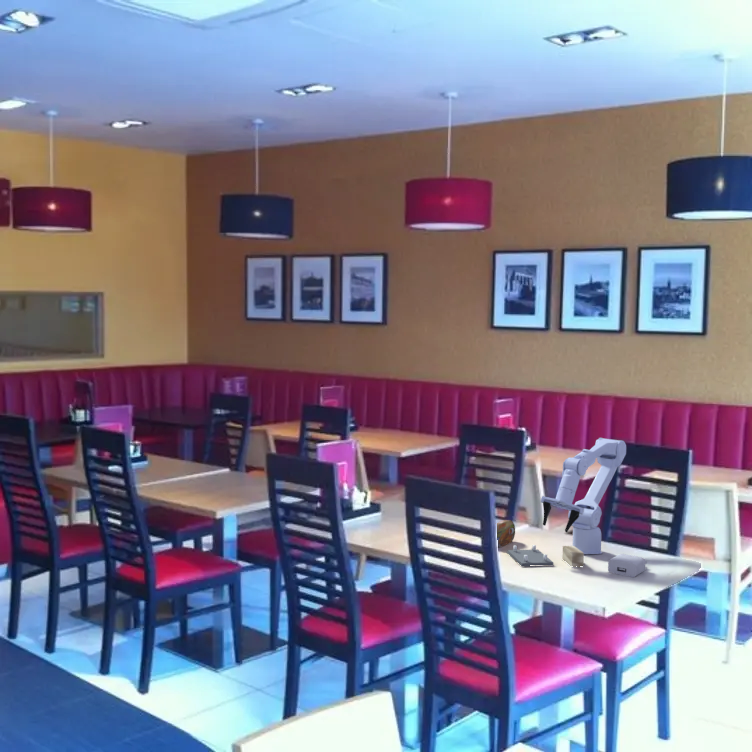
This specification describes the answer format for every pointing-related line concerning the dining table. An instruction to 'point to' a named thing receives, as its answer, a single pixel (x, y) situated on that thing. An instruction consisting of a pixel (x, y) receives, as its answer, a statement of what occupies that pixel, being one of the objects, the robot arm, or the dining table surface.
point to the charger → (626, 565)
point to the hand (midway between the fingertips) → (555, 528)
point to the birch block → (573, 556)
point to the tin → (505, 532)
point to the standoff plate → (529, 557)
